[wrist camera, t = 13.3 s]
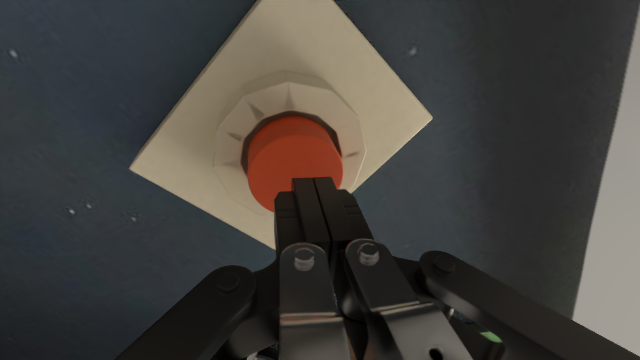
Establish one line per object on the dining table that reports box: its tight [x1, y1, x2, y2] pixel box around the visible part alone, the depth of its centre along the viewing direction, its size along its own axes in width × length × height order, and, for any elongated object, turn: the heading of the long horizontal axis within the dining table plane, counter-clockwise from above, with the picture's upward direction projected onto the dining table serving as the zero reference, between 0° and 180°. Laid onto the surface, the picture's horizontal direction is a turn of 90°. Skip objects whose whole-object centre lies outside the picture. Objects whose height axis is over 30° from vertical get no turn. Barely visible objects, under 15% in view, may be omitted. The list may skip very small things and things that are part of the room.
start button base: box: [129, 0, 433, 250], centre depth 17 cm, size 12×10×4 cm
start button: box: [248, 116, 343, 213], centre depth 14 cm, size 4×4×2 cm
